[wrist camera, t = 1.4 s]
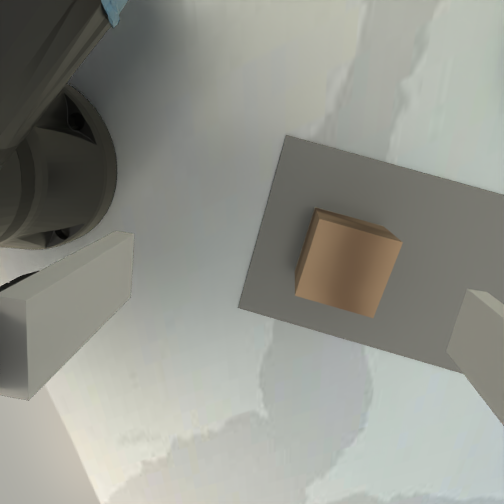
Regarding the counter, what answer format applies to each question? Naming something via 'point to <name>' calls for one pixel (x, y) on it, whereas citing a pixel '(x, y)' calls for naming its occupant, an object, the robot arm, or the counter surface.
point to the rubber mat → (408, 260)
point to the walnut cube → (345, 262)
